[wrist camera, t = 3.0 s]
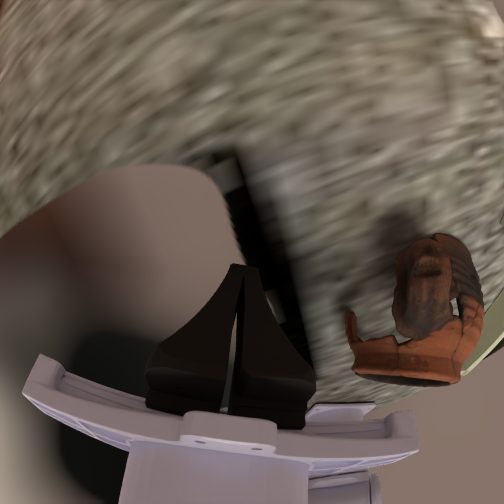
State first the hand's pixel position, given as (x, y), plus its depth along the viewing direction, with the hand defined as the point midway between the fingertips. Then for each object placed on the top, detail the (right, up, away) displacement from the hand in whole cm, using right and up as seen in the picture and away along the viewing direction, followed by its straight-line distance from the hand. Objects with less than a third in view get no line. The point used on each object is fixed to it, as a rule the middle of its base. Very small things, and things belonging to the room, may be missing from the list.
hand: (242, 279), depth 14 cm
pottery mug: (+11, 0, +2) cm, 11 cm away
